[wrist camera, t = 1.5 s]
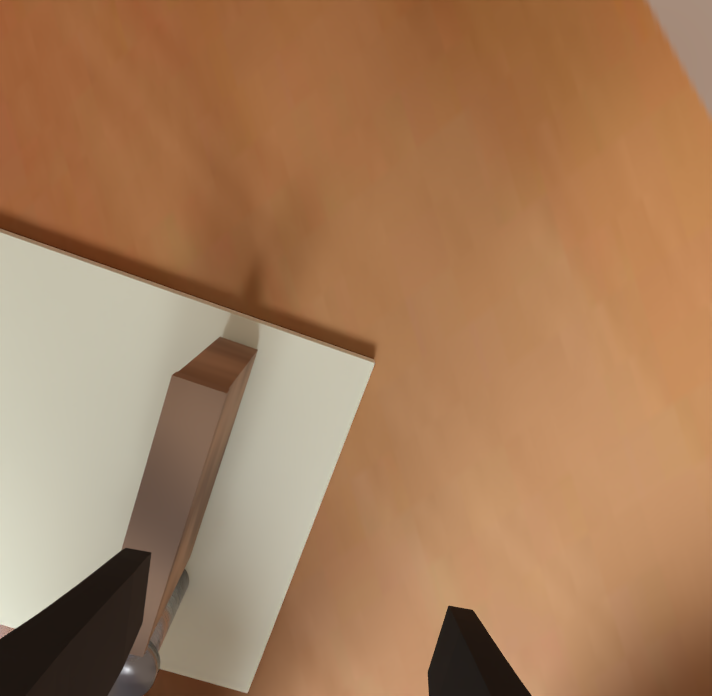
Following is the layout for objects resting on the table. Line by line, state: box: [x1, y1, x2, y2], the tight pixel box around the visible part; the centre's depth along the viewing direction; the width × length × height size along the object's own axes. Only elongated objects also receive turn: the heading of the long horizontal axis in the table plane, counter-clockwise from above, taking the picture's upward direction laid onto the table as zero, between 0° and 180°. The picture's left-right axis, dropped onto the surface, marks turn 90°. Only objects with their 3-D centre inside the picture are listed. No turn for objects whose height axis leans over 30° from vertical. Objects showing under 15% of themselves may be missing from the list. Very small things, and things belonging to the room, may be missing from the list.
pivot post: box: [108, 569, 189, 696], centre depth 21 cm, size 3×3×6 cm
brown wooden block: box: [121, 337, 258, 657], centre depth 19 cm, size 10×2×5 cm, turn 160°
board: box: [0, 229, 375, 693], centre depth 22 cm, size 18×21×1 cm
